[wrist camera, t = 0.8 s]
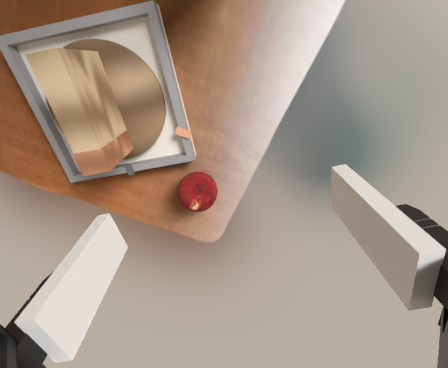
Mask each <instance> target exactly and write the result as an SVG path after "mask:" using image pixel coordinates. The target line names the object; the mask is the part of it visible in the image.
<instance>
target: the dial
mask: <svg viewBox="0 0 448 368" xmlns="http://www.w3.org/2000/svg"><path fill="white" fill-rule="evenodd" d="M26 57H27V59H28V61H29V63H30V66H31V68H32V70H33V72H34V74H35V76H36V78H37V80H38V82H39V84H40V86H41V88H42V90H43V92H44V94H45V96H46V102H47V105H48V108H49V111H50V113H51V115H52V118H53V119H54V121H55V123H56V124H57V126H58V127H59V129H60V130H61V131H62V132H63V134H64V135H65V137H66V139H67V141H68V143H69V145H70V147H71V149H72V151H73V153H74V154H73V156H74V158H75V160H76V162H77V164H78V166H79V168H80V170H81V172H82V174H83V176H86V175H92V174H97V173H103V172H108V171H111V170H112V169H113V168H114V167H115V166H116V165H117V164H118V163H119V162H120V161H121V160H124V159H130V158H133V157H136V156H138V155H140V154H142V153H144V152H145V151H146V150H148V149H149V148H150V147H151V146H152V145H153V144H154V143H155V141H156V140H157V139H158V137H159V136H160V134H161V132H162V129H163V126H164V123H165V117H166V105H165V98H164V94H163V91H162V88H161V85H160V83H159V81H158V79H157V77H156V76H155V74H154V73H153V71H152V70H151V68H150V67H149V66H148V65H147V63H146V62H145V61H144V60H143V59H142V58H141V57H139V56H138V55H137V54H135V53H134V52H133V51H131V50H130V49H128V48H126V47H124V46H122V45H120V44H118V43H115V42H112V41H108V40H102V39H89V38H88V39H81V40H77V41H74V42H72V43H70V44H68V45H66V46H64V47H63V48H53V49H48V50H44V51H39V52H35V53H30V54H26Z"/></svg>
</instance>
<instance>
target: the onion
mask: <svg viewBox="0 0 448 368" xmlns="http://www.w3.org/2000/svg"><path fill="white" fill-rule="evenodd" d="M217 192H218V191H217V187H216V183H215V181H214V180H213V179H212V177H211V176H209V175H208V174H206V173H204V172H193V173H191V174H188V175H187V176H186V177H185V178H183V179H182V180H181V182H180V185H179V187H178V198H179V200H180V202H181V204H182V205H183V206H184V207H185V208H186V209H188V210H190V211H193V212H201V211H205V210H207V209H208V208H210V207H211V206H212V205H213V203H214V202H215V200H216V197H217Z"/></svg>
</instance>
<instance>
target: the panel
mask: <svg viewBox="0 0 448 368" xmlns="http://www.w3.org/2000/svg"><path fill="white" fill-rule="evenodd" d="M88 38H89V39H102V40H108V41H112V42H115V43H118V44H120V45H122V46H124V47H126V48H128V49H130V50H131V51H133V52H134V53H135V54H137V55H138V56H139V57H141V58H142V59H143V60H144V61H145V62H146V63H147V65H148V66H149V67H150V68H151V70H152V71H153V73H154V74H155V76H156V77H157V79H158V81H159V83H160V85H161V88H162V91H163V94H164V98H165V105H166V117H165V123H164V126H163V129H162V132H161V134H160V136H159V137H158V139H157V140H156V141H155V143H154V144H153V145H152V146H151V147H150V148H149V149H148V150H146V151H145V152H144V153H142V154H140V155H138V156H136V157H133V158H130V159H124V160H121V161H120V162H119V163H118V164H117V165H116V166H115V167H114V168H113V169H112V170H111V171H108V172H103V173H97V174H92V175H86V176H83V174H82V172H81V170H80V168H79V166H78V164H77V162H76V160H75V158H74V156H73V154H74V153H73V151H72V149H71V147H70V145H69V143H68V141H67V139H66V137H65V135H64V134H63V132H62V131H61V130H60V129H59V127H58V126H57V124H56V123H55V121H54V119H53V118H52V115H51V113H50V111H49V108H48V105H47V102H46V96H45V94H44V92H43V90H42V88H41V86H40V84H39V82H38V80H37V78H36V76H35V74H34V72H33V70H32V68H31V66H30V63H29V61H28V59H27V57H26V54H30V53H35V52H39V51H44V50H48V49H53V48H63V47H64V46H66V45H68V44H70V43H72V42H74V41H77V40H81V39H88ZM0 50H1V52H2V54H3V55H4V57H5V59H6V61H7V63H8V65H9V67H10V69H11V71H12V72H13V74H14V76H15V78H16V80H17V82H18V84H19V86H20V88H21V90H22V91H23V93H24V95H25V97H26V99H27V101H28V103H29V105H30V107H31V108H32V110H33V112H34V114H35V116H36V118H37V120H38V122H39V124H40V126H41V127H42V129H43V131H44V133H45V135H46V137H47V139H48V141H49V143H50V144H51V146H52V148H53V150H54V152H55V154H56V156H57V158H58V160H59V161H60V163H61V165H62V167H63V169H64V171H65V173H66V175H67V177H68V179H69V180H70V182H71V183H73V182H79V181H84V180H90V179H95V178H101V177H107V176H112V175H118V174H123V173H128V175H134V174H135V172H134V171H140V170H145V169H151V168H157V167H162V166H168V165H173V164H179V163H184V162H190V161H195V157H196V152H195V148H194V144H193V140H192V136H191V132H192V131H190V128H189V124H188V120H187V116H186V112H185V108H184V104H183V100H182V96H181V92H180V88H179V84H178V80H177V76H176V72H175V68H174V64H173V60H172V56H171V52H170V48H169V44H168V40H167V36H166V32H165V28H164V24H163V20H162V16H161V12H160V8H159V5H158V4H157V3H156V2H155V1H154V0H152V1H148V2H143V3H139V4H135V5H130V6H126V7H122V8H117V9H113V10H109V11H105V12H100V13H96V14H92V15H87V16H83V17H79V18H74V19H70V20H66V21H61V22H57V23H53V24H48V25H44V26H40V27H35V28H31V29H27V30H22V31H18V32H14V33H9V34H5V35H1V36H0Z"/></svg>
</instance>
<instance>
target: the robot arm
mask: <svg viewBox="0 0 448 368" xmlns="http://www.w3.org/2000/svg"><path fill="white" fill-rule="evenodd" d="M331 174H332V208H333V209H334V211H335V212H336V214H337V215H338V216H339V218H340V219H341V220H342V222H343V223H344V224H345V226H346V227H347V228H348V230H349V231H350V232H351V234H352V235H353V236H354V238H355V239H356V240H357V242H358V243H359V245H360V246H361V247H362V249H363V250H364V251H365V253H366V254H367V255H368V257H369V258H370V259H371V261H372V262H373V263H374V265H375V266H376V267H377V269H378V270H379V271H380V273H381V274H382V275H383V277H384V278H385V279H386V281H387V282H388V283H389V285H390V286H391V287H392V289H393V290H394V291H395V293H396V294H397V295H398V297H399V298H400V299H401V301H402V302H403V303H404V305H405V306H406V307H407V309H408V310H414V309H421V308H428V307H431V306H432V302H433V298H434V296H435V297H436V298H437V299H438V300H439V302H440V303H441V304H442V305H443V309H442V313H441V316H440V320H439V323H438V325H439V326H441V328H440V342H439V355H438V367H437V368H448V231H447V230H445V229H444V228H443V227H441V226H438V224H437V223H436V222H435V221H433V220H432V219H430V218H429V217H428V216H427V215H426V214H424V213H423V212H422V211H420V210H419V209H416V208H414V207H411V206H409V205H407V204H404V205H399V206H394V205H393V204H392V203H391V202H390V201H388V200H387V199H386V198H385V197H384V196H382V195H381V194H380V193H379V192H378V191H377V190H375V189H374V188H373V187H372V186H370V185H369V184H368V183H367V182H366V181H365V180H364V179H362V178H361V177H360V176H359V175H358V174H356V173H355V172H354V171H353V170H352V169H351V168H349V167H348V166H347V165H345V164H344V165H339V166H335V167H331ZM127 248H128V246H127V245H126V243H125V241H124V239H123V238H122V235H121V233H120V232H119V230H118V228H117V226H116V224H115V223H114V221H113V219H112V217H111V215H110V214H109V213H108V214H103V215H99V216H97V217H96V218H95V220H94V221H93V222H92V224H91V225H90V226H89V227H88V229H87V230H86V231H85V233H84V234H83V235H82V236H81V238H80V239H79V240H78V241H77V243H76V244H75V245H74V247H73V248H72V249H71V250H70V252H69V253H68V254H67V256H66V257H65V258H64V259H63V261H62V262H61V263H60V264H59V266H58V267H57V268H56V269H55V271H53V272H52V273H51V274H50V275H49V276H48V277H47V278H46V279H44V281H43V282H42V283H41V284H40V285H39V286H38V288H37V289H36V291H35V292H34V293H33V294H32V295H31V296H30V299H29V300H28V301H26V303H25V304H24V305H23V306H22V308H21V309H20V310H19V312H18V313H17V314H16V315H15V316H14V318H13V319H12V320H11V322H10V323H9V324H8V325H7V327H6V328H4V327H3V326H2V325H0V368H46V367H45V366H44V365H43V364H42V363H43V361H44V360H45V358H46V356H47V355H48V356H49V357H50V358H51V359H52V360H53V361H54V362H55V363H57V362H64V361H71V360H73V358H74V356H75V354H76V352H77V350H78V348H79V346H80V344H81V342H82V340H83V338H84V336H85V334H86V332H87V330H88V328H89V326H90V324H91V322H92V319H93V318H94V316H95V313H96V311H97V309H98V307H99V305H100V303H101V301H102V299H103V297H104V295H105V293H106V291H107V289H108V287H109V285H110V283H111V281H112V279H113V277H114V275H115V273H116V271H117V269H118V267H119V265H120V263H121V260H122V258H123V256H124V254H125V252H126V251H127Z"/></svg>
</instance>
